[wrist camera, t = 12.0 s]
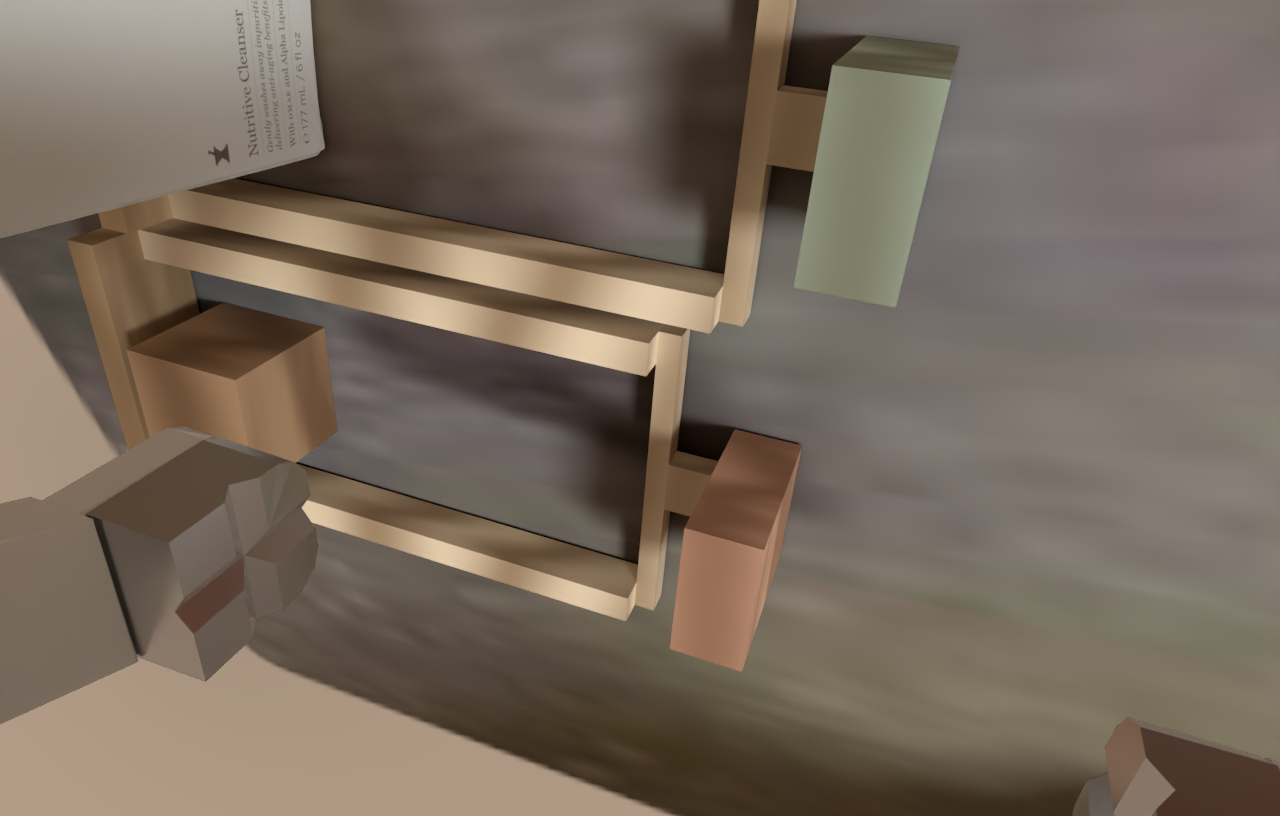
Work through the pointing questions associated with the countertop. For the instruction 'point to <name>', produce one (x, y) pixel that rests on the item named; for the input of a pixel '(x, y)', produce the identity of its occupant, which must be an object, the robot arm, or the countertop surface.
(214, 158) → the skincare box
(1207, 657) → the countertop surface
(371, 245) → the frame
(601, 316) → the frame
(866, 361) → the countertop surface
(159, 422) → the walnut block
